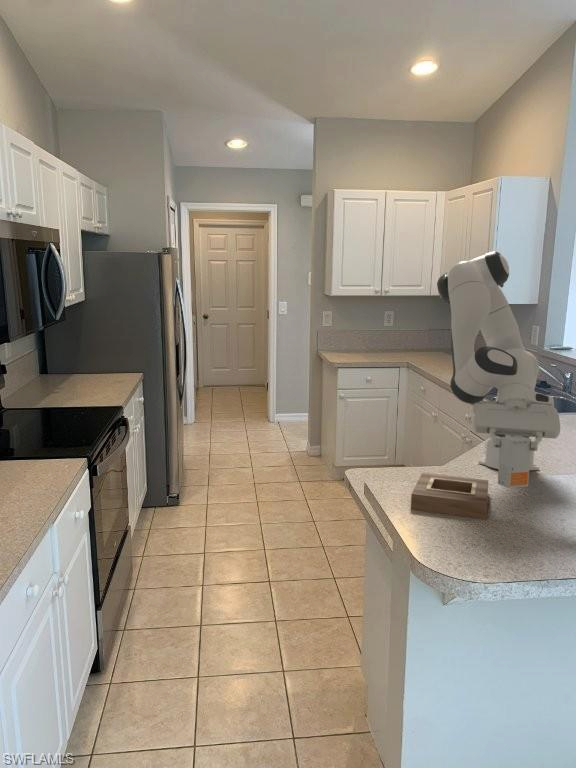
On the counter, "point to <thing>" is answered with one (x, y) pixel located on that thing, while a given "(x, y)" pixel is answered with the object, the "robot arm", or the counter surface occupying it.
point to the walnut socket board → (451, 495)
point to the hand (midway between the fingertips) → (515, 447)
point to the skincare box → (514, 461)
